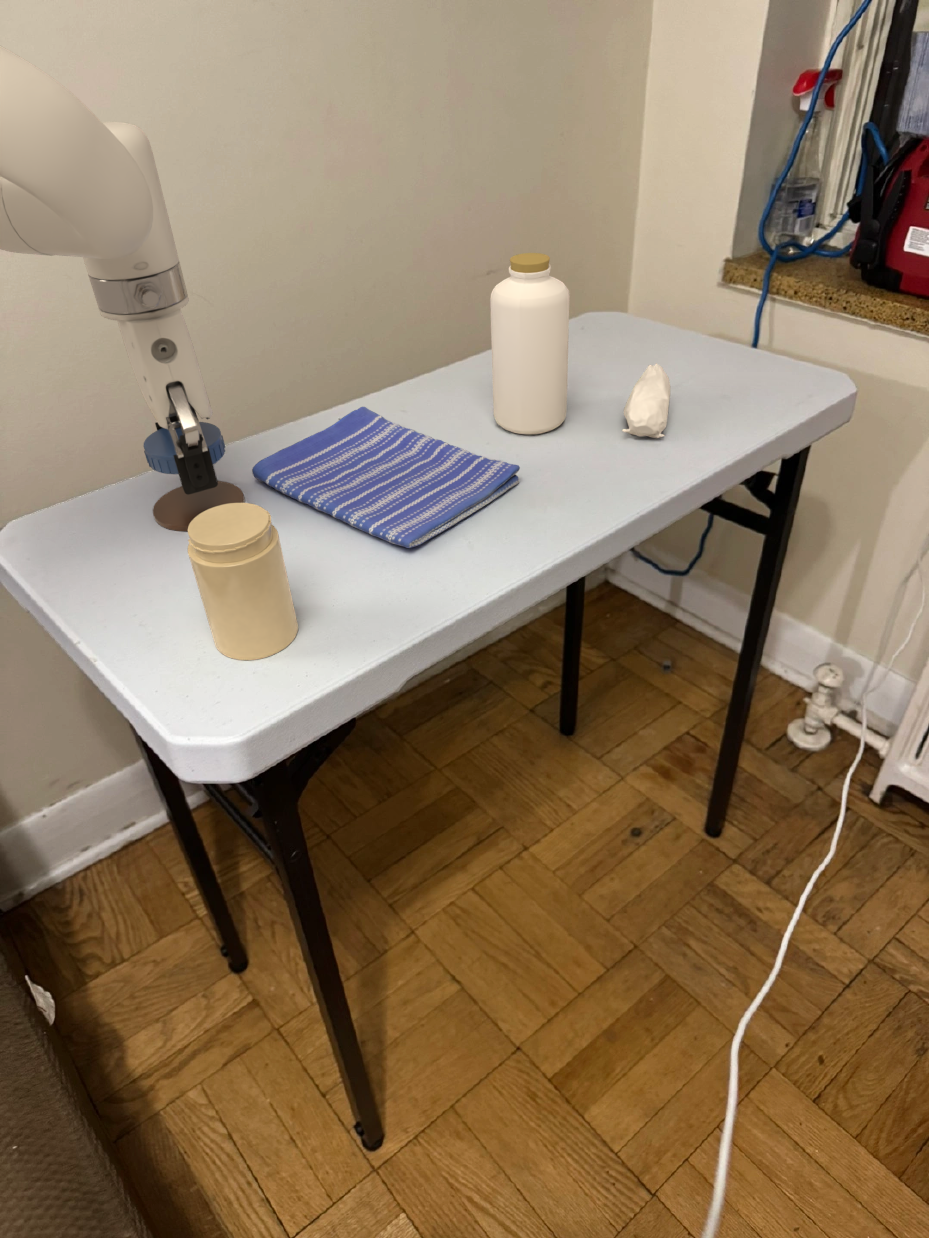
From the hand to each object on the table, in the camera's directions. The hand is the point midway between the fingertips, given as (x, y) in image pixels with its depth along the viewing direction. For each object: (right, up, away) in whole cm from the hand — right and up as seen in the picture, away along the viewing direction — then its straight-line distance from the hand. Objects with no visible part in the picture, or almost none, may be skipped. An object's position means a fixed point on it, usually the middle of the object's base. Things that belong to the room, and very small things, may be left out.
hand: (191, 471), depth 85 cm
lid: (0, +3, -2) cm, 3 cm away
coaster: (0, -3, +2) cm, 4 cm away
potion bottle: (+34, +8, +14) cm, 38 cm away
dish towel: (+19, -1, +5) cm, 19 cm away
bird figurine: (+48, +7, +12) cm, 50 cm away
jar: (+10, -16, -14) cm, 23 cm away
